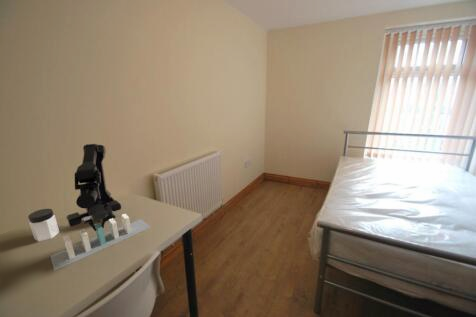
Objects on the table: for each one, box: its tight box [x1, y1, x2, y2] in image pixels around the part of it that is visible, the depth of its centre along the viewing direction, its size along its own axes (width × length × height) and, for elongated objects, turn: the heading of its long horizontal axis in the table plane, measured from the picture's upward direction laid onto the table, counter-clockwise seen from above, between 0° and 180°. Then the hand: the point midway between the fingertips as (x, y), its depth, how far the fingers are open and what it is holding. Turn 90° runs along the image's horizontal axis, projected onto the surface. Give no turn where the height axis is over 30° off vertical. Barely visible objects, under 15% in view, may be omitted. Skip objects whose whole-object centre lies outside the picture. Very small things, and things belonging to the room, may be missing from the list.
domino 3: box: [94, 223, 106, 245], centre depth 92 cm, size 2×5×8 cm, turn 47°
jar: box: [27, 208, 60, 243], centre depth 96 cm, size 9×8×12 cm
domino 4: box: [108, 218, 119, 239], centre depth 96 cm, size 2×5×8 cm, turn 47°
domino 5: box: [121, 213, 132, 234], centre depth 100 cm, size 2×5×8 cm, turn 47°
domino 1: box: [62, 234, 75, 259], centre depth 84 cm, size 2×5×8 cm, turn 47°
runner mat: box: [49, 218, 152, 271], centre depth 94 cm, size 11×37×1 cm, turn 137°
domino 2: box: [79, 228, 91, 252], centre depth 88 cm, size 2×5×8 cm, turn 47°
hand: (99, 229), depth 91 cm, fingers open, 2 cm apart
